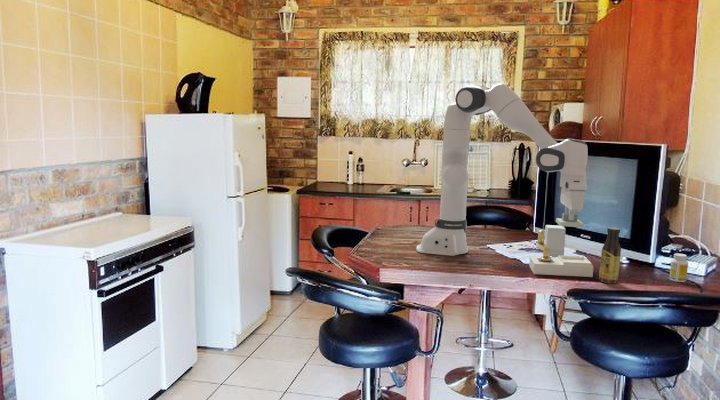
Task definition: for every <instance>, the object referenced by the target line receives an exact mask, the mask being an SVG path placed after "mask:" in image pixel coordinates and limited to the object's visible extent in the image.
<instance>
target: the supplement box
mask: <svg viewBox="0 0 720 400" xmlns="http://www.w3.org/2000/svg"><path fill="white" fill-rule="evenodd" d="M544 231H545V237H544V244H545V245H547V246H548V247H550V249H549V256H552V257H555V258H556V257H558V255H559V256H565V247H566V245H565V242H566V228H565V226H560V225H559V224H556V225H554V224H553V225H552V224H545V227H544Z"/></svg>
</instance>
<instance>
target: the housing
mask: <svg viewBox="0 0 720 400" xmlns="http://www.w3.org/2000/svg"><path fill="white" fill-rule="evenodd" d="M540 257H541V256H531V255H530V256H529V265H528V267H529V268H530V270H531V271H532V273H533V275H546V276H548V275H549V276H550V275H551V276H566V277H584V278H585V277H586V278H587V277H588V278H593V277H594V275H593V274H594V266H593V263H592V262H591V261H590V260H589V259H588V258H587V256H579V255H578V256H577V255H564V256H559V255H558V258H556V257H550V258H551V261H549V262H546V261H541V260H540Z"/></svg>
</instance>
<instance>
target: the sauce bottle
mask: <svg viewBox="0 0 720 400" xmlns="http://www.w3.org/2000/svg"><path fill="white" fill-rule="evenodd" d="M620 233H621V228H619V227H614V226H609V227H607V234H606V235H607V236H606V240H605V242H604V243H603V246H602V248H601V255H600V263H599V273H598V276H599V278H598V280H599V281H600V282H602V283H604V284H610V285H611V284H612V285H613V284H617V283H618V279H619V272H620V265H621V251H622V246H621V245H620V242H619V241H620V239H619V238H620Z"/></svg>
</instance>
